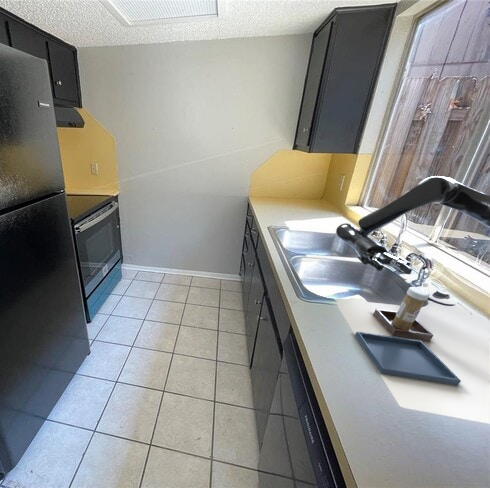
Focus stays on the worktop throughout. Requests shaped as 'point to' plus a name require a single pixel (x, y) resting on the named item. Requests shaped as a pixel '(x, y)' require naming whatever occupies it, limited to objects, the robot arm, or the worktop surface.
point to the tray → (405, 358)
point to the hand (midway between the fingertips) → (395, 270)
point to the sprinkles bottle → (410, 308)
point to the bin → (415, 331)
